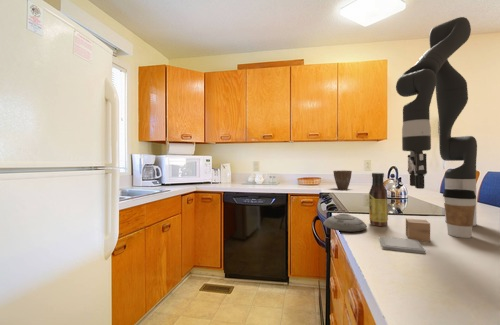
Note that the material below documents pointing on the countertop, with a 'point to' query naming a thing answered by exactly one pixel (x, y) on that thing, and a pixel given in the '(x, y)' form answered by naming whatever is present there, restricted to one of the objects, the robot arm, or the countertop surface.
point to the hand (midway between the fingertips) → (416, 187)
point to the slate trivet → (401, 244)
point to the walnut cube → (418, 229)
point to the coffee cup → (459, 212)
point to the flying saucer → (345, 223)
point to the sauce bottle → (378, 201)
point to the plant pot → (342, 179)
